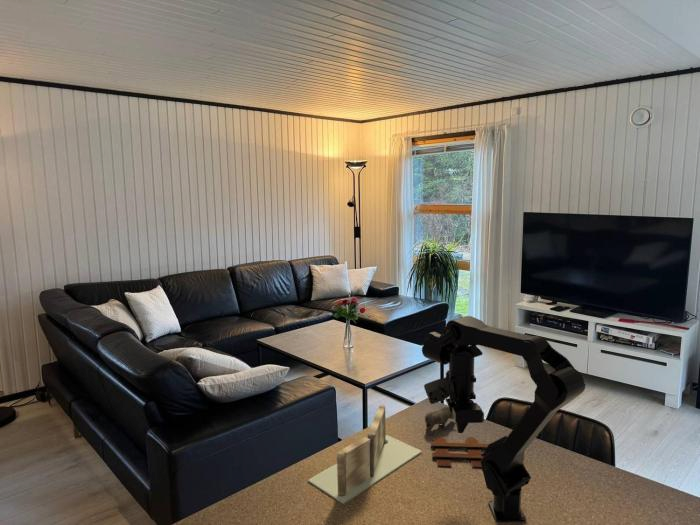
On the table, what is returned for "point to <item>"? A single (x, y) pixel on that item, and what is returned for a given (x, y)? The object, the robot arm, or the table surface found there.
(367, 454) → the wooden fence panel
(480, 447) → the decorative fence
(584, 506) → the table surface
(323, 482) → the card
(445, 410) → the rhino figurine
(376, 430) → the hinged fence panel
